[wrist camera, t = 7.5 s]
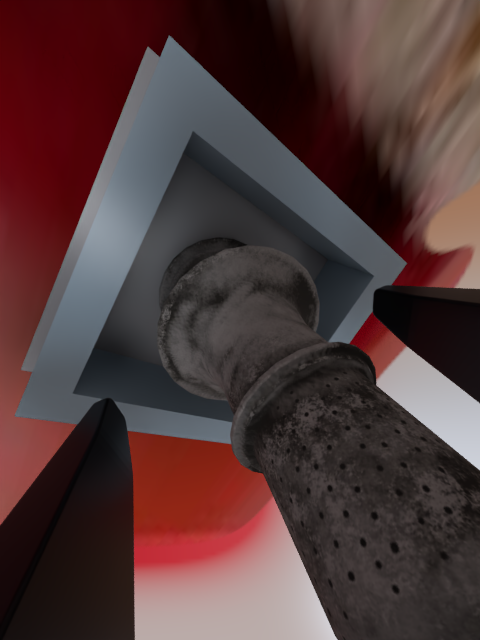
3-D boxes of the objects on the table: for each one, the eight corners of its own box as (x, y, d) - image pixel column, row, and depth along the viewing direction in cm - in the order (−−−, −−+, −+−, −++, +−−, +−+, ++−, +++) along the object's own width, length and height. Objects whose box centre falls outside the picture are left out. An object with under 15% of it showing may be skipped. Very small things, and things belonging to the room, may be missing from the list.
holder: (146, 60, 8) (154, -25, 5) (355, 241, 14) (422, 257, 11) (29, 356, 11) (-16, 428, 8) (247, 405, 17) (275, 458, 14)
